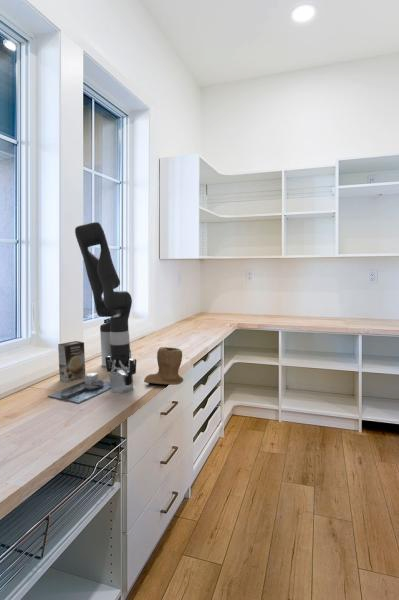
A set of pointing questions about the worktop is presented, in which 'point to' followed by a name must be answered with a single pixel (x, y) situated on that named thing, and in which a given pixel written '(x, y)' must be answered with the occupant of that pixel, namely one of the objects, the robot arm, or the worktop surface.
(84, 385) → the grey base plate
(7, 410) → the worktop surface
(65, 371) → the coffee box
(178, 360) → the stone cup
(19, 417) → the worktop surface
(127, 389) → the brushed steel cube
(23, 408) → the worktop surface
